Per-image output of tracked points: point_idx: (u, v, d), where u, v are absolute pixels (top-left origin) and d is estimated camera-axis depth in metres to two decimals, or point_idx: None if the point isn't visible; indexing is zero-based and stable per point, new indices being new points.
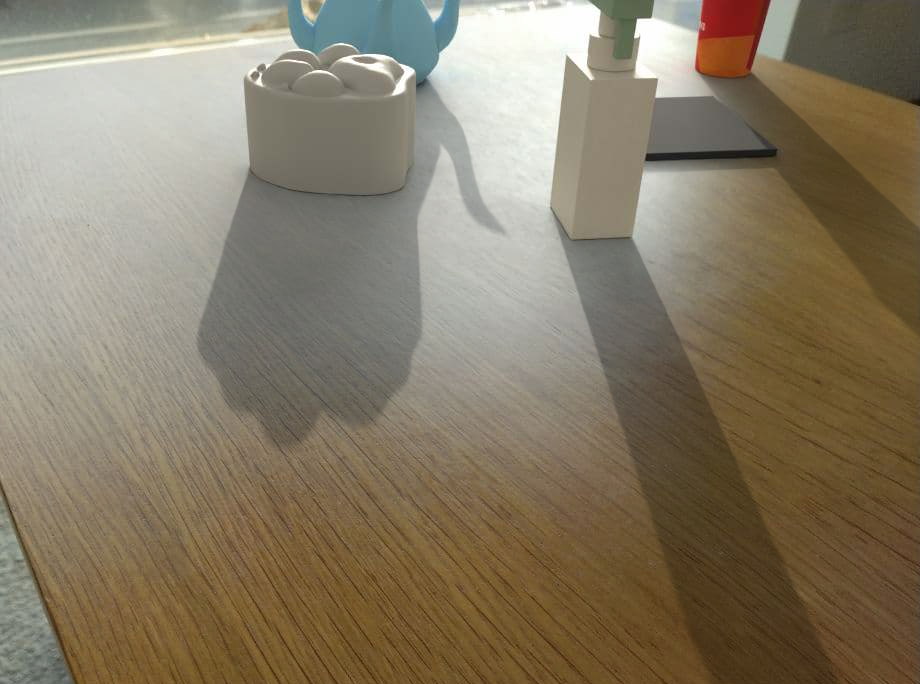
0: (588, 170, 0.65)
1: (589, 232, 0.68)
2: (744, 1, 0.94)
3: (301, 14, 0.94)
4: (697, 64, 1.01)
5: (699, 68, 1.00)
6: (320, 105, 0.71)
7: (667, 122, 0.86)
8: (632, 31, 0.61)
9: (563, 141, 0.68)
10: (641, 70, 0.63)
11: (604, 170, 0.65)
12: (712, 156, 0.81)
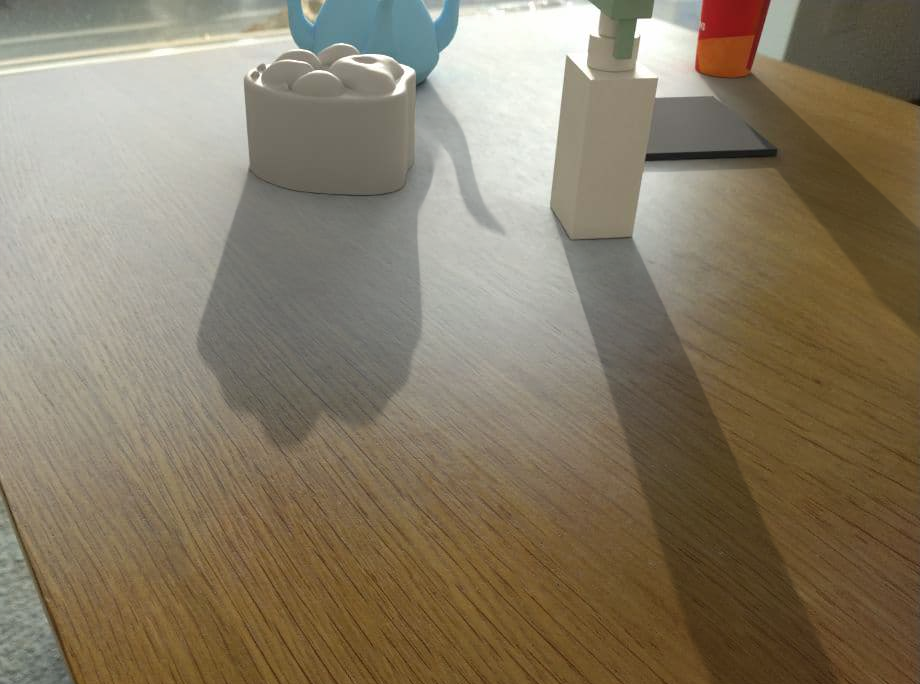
0: (588, 170, 0.65)
1: (589, 232, 0.68)
2: (744, 1, 0.94)
3: (301, 14, 0.94)
4: (697, 64, 1.01)
5: (699, 68, 1.00)
6: (320, 105, 0.71)
7: (667, 122, 0.86)
8: (632, 31, 0.61)
9: (563, 141, 0.68)
10: (641, 70, 0.63)
11: (604, 170, 0.65)
12: (712, 156, 0.81)
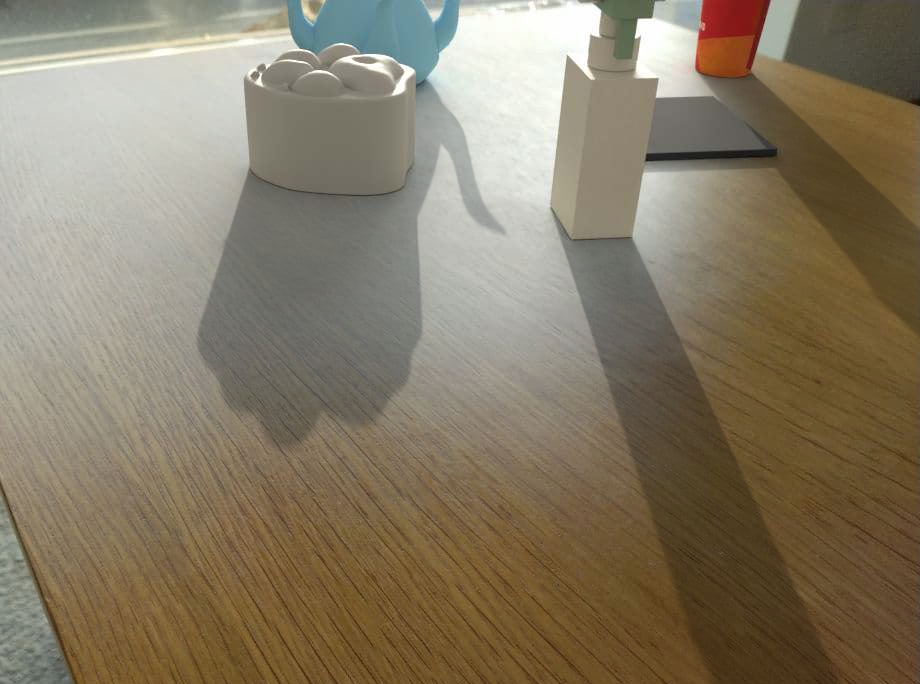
0: (588, 170, 0.65)
1: (589, 232, 0.68)
2: (744, 1, 0.94)
3: (301, 14, 0.94)
4: (697, 64, 1.01)
5: (699, 68, 1.00)
6: (320, 105, 0.71)
7: (667, 122, 0.86)
8: (633, 31, 0.61)
9: (563, 141, 0.68)
10: (642, 70, 0.63)
11: (605, 170, 0.65)
12: (712, 156, 0.81)
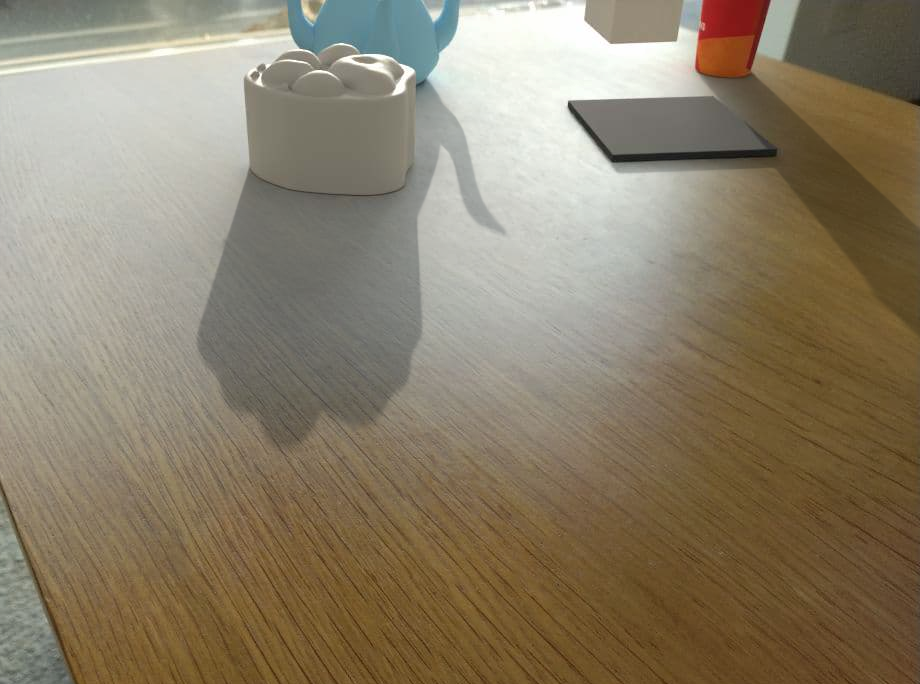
0: None
1: (630, 35, 0.62)
2: (744, 1, 0.94)
3: (301, 14, 0.94)
4: (697, 64, 1.01)
5: (699, 68, 1.00)
6: (320, 105, 0.71)
7: (667, 122, 0.86)
8: None
9: None
10: None
11: None
12: (712, 156, 0.81)
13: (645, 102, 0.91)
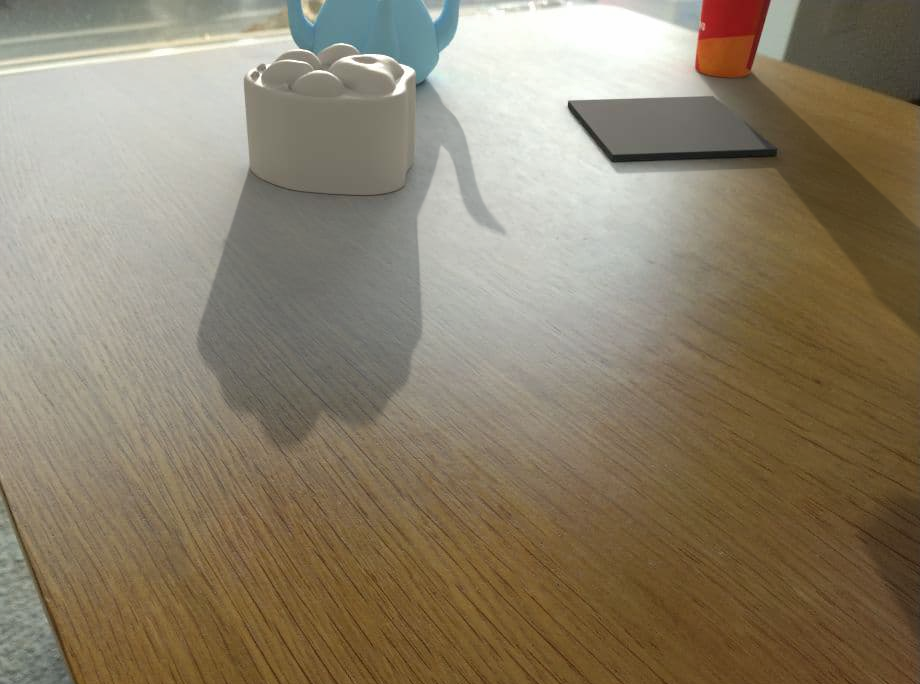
0: None
1: None
2: (744, 1, 0.94)
3: (301, 14, 0.94)
4: (697, 64, 1.01)
5: (699, 68, 1.00)
6: (320, 105, 0.71)
7: (667, 122, 0.86)
8: None
9: None
10: None
11: None
12: (712, 156, 0.81)
13: (645, 102, 0.91)
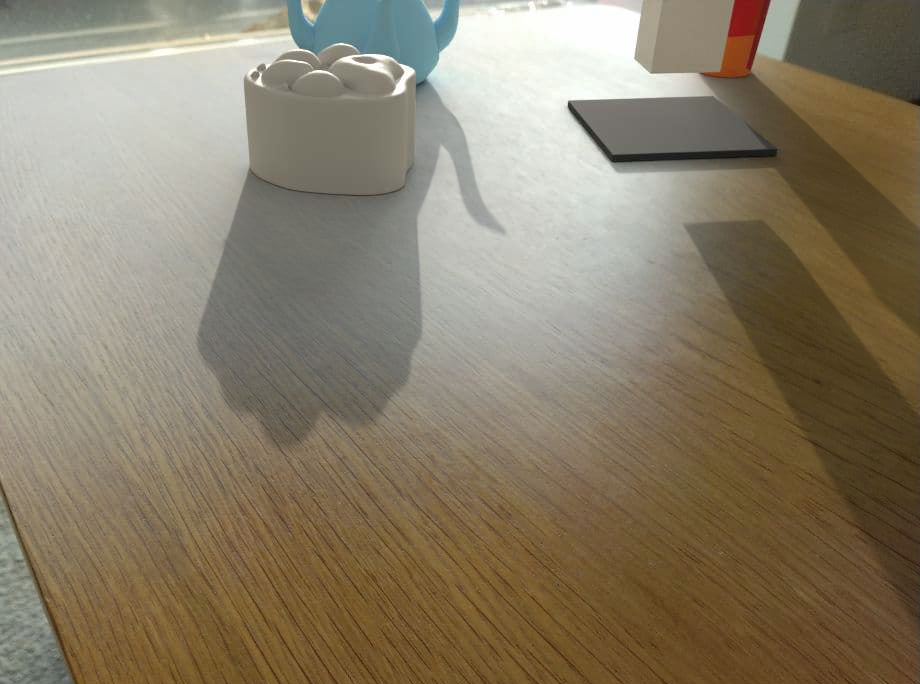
0: None
1: None
2: (744, 1, 0.94)
3: (301, 14, 0.94)
4: None
5: None
6: (320, 105, 0.71)
7: (667, 122, 0.86)
8: None
9: (680, 4, 0.78)
10: None
11: None
12: (712, 156, 0.81)
13: (645, 102, 0.91)
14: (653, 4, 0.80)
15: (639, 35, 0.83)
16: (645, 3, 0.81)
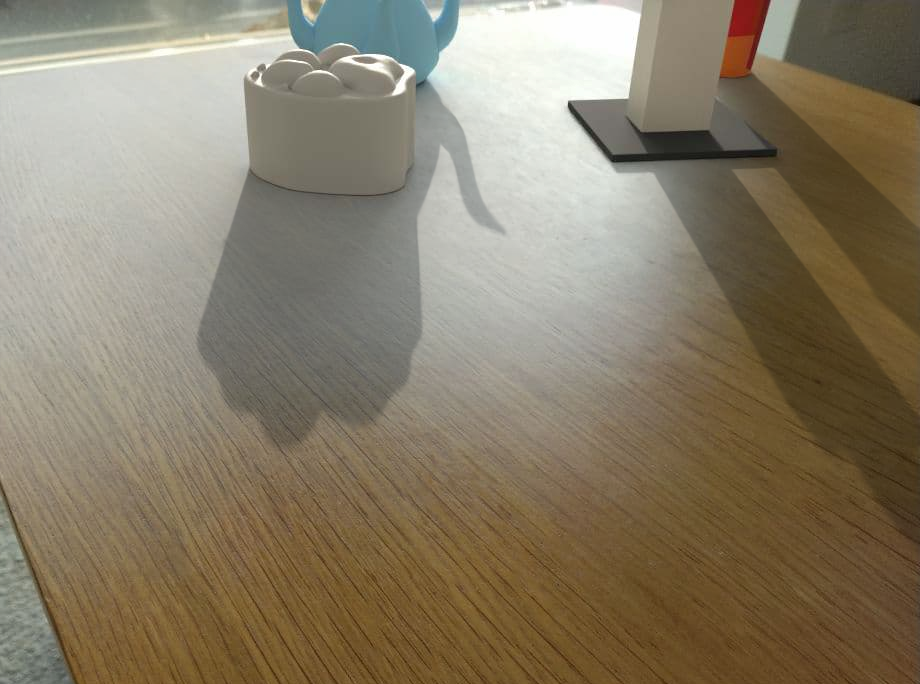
0: None
1: None
2: (744, 1, 0.94)
3: (301, 14, 0.94)
4: None
5: None
6: (320, 105, 0.71)
7: None
8: None
9: (670, 67, 0.81)
10: None
11: None
12: (712, 156, 0.81)
13: None
14: (643, 67, 0.82)
15: (630, 93, 0.86)
16: (636, 64, 0.84)
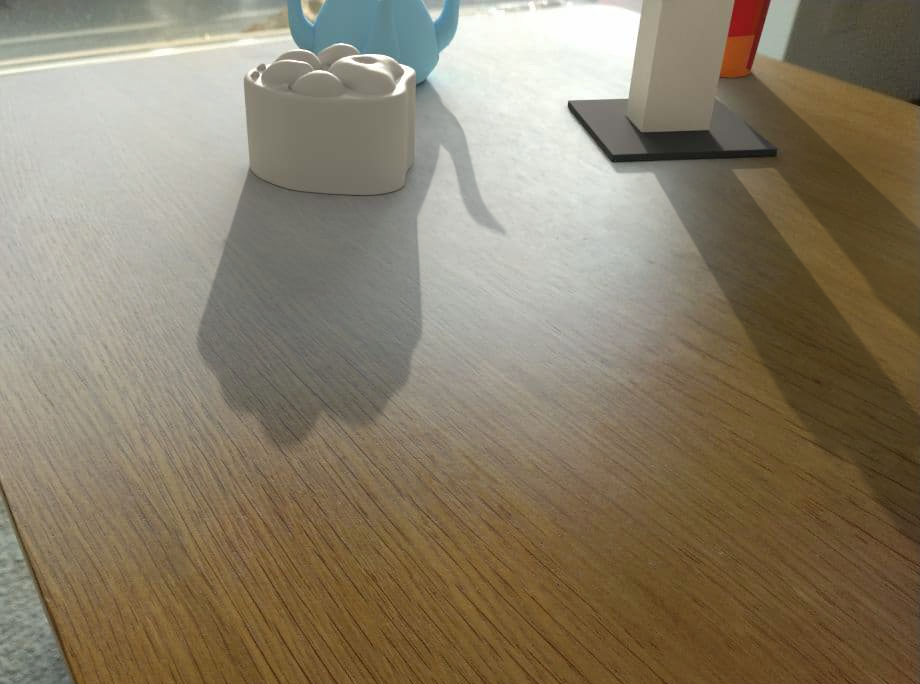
0: None
1: None
2: (744, 1, 0.94)
3: (301, 14, 0.94)
4: None
5: None
6: (320, 105, 0.71)
7: None
8: None
9: (670, 67, 0.81)
10: None
11: None
12: (712, 156, 0.81)
13: None
14: (643, 67, 0.82)
15: (630, 93, 0.86)
16: (636, 64, 0.84)
